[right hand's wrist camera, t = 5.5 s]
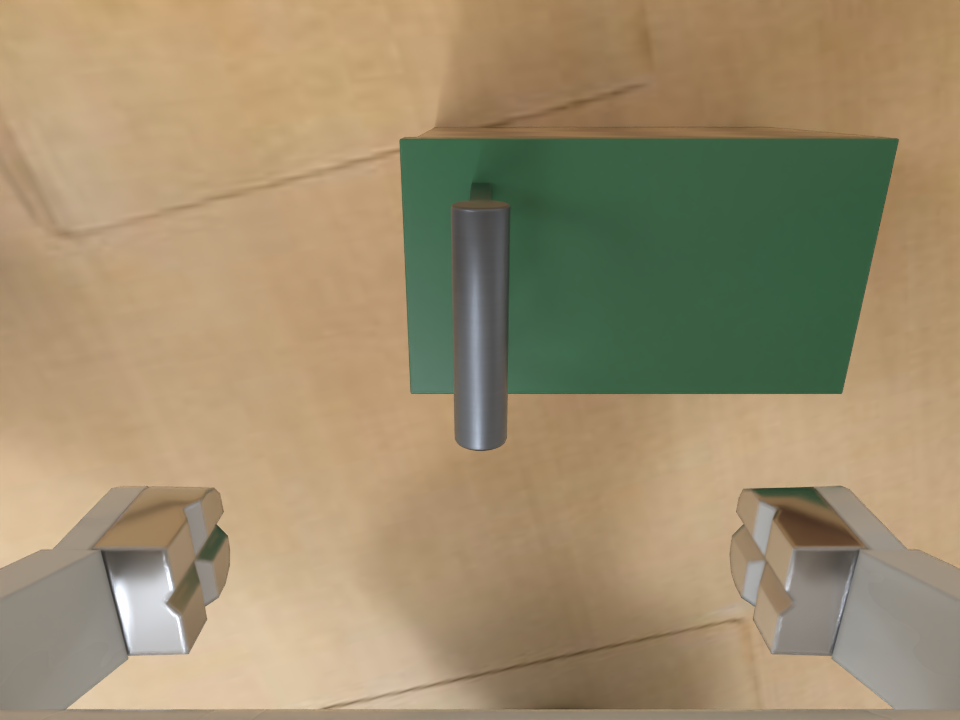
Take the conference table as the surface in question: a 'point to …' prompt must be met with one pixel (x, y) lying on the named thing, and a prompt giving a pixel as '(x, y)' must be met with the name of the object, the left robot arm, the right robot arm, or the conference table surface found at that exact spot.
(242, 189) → the conference table surface
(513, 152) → the lid
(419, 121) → the conference table surface
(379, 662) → the conference table surface
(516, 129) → the chest
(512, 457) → the conference table surface
